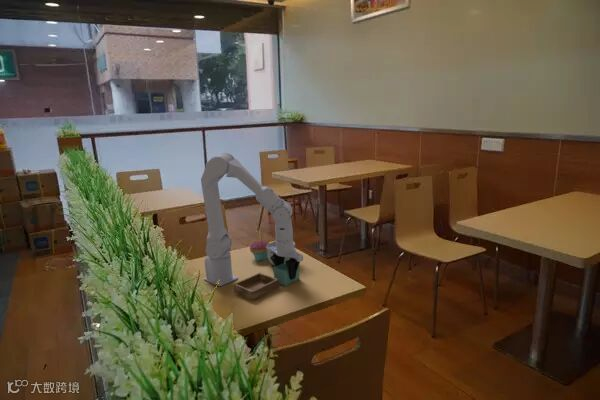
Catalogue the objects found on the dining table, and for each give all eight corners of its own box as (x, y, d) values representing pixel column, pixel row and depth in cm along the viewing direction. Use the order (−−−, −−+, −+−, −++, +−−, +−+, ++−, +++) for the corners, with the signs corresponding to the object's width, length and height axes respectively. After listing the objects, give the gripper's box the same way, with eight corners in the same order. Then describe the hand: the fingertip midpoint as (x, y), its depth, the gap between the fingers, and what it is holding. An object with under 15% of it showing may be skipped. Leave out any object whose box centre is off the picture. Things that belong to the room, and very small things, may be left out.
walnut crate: (234, 292, 132) (233, 284, 131) (260, 280, 140) (259, 272, 139) (253, 301, 126) (252, 292, 125) (279, 287, 134) (278, 279, 133)
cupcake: (250, 255, 164) (248, 227, 161) (271, 253, 165) (269, 225, 162) (250, 263, 156) (248, 233, 153) (272, 261, 157) (270, 231, 154)
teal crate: (274, 282, 138) (273, 267, 136) (288, 275, 143) (288, 261, 141) (285, 286, 134) (284, 271, 133) (299, 279, 139) (298, 264, 138)
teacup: (292, 270, 147) (291, 249, 145) (264, 269, 150) (262, 248, 148) (300, 256, 161) (299, 236, 159) (274, 255, 163) (272, 236, 161)
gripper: (308, 239, 133) (310, 277, 136) (277, 231, 143) (280, 267, 146) (293, 245, 128) (296, 285, 131) (262, 237, 138) (265, 274, 141)
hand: (286, 276), depth 138 cm, fingers closed on teal crate, 5 cm apart
